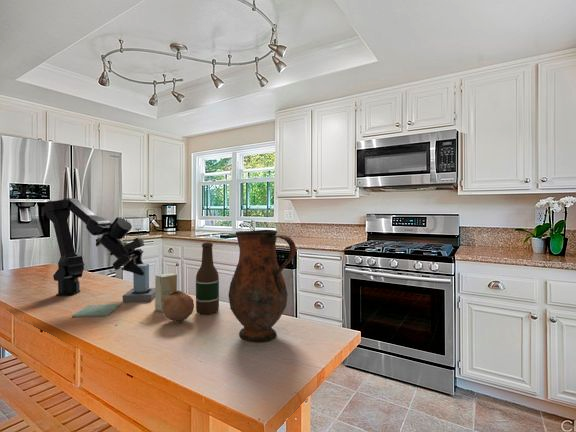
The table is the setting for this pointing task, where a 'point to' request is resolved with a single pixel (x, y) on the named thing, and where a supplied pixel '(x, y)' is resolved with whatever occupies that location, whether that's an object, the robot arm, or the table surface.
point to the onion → (178, 306)
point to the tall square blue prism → (141, 279)
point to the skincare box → (164, 288)
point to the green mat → (96, 310)
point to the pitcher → (259, 284)
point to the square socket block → (139, 295)
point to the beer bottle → (207, 284)
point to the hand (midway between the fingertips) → (145, 273)
